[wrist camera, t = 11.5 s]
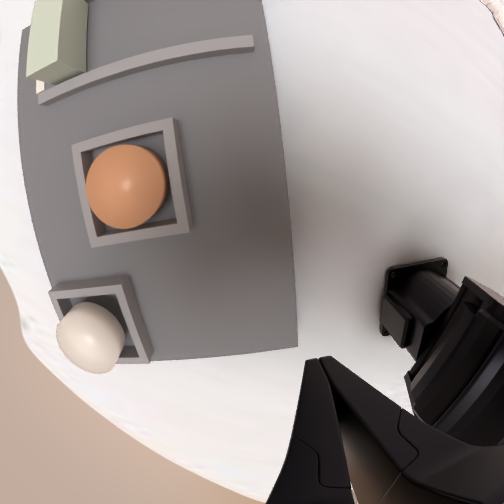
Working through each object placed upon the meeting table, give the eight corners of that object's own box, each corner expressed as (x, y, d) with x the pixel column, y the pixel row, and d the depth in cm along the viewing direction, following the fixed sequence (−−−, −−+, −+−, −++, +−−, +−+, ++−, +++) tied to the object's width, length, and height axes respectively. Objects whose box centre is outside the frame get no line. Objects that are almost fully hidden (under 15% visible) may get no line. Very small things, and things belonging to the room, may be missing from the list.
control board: (251, -28, 13) (254, -54, 10) (293, 331, 22) (301, 359, 19) (35, 35, 13) (12, 25, 9) (92, 347, 22) (77, 371, 19)
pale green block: (88, 4, 11) (65, -16, 8) (86, 72, 13) (57, 60, 10) (60, 17, 11) (34, 1, 8) (57, 85, 13) (26, 77, 10)
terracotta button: (164, 137, 15) (154, 136, 13) (175, 214, 17) (168, 221, 15) (95, 154, 15) (80, 156, 13) (108, 225, 17) (95, 234, 15)
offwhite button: (112, 299, 17) (100, 315, 15) (133, 356, 18) (126, 374, 16) (59, 304, 17) (46, 318, 15) (83, 355, 18) (73, 372, 16)
